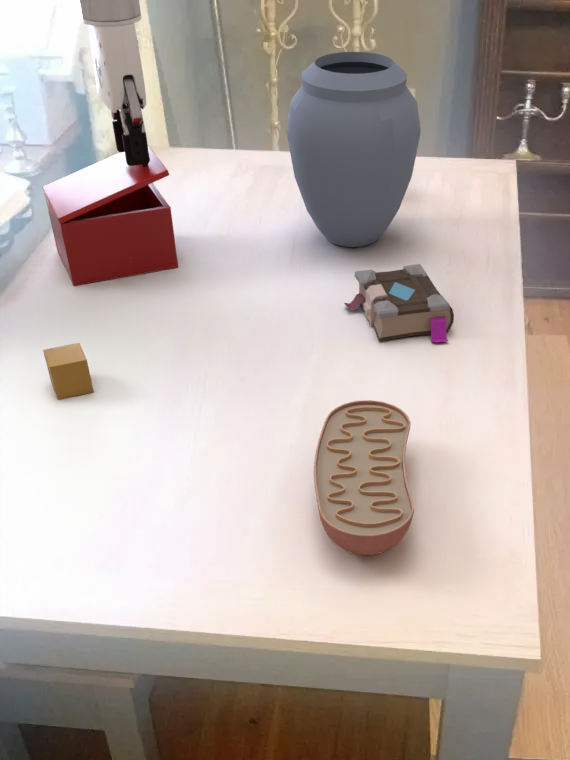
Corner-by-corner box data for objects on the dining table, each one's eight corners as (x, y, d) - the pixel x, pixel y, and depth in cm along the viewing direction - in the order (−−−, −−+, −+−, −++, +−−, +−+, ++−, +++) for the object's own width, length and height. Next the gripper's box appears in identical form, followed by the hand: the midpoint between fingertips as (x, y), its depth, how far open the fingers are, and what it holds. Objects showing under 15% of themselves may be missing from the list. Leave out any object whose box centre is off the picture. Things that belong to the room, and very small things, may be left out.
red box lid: (147, 146, 133) (132, 109, 129) (169, 175, 124) (154, 136, 120) (44, 191, 131) (26, 156, 127) (60, 224, 123) (42, 187, 119)
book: (331, 286, 129) (331, 251, 126) (412, 276, 131) (414, 242, 128) (369, 354, 116) (370, 318, 112) (458, 342, 118) (462, 306, 114)
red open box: (156, 235, 142) (148, 177, 136) (178, 267, 134) (170, 207, 127) (57, 251, 137) (44, 192, 131) (73, 286, 129) (60, 224, 123)
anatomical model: (412, 576, 86) (415, 536, 82) (308, 573, 86) (307, 534, 83) (407, 438, 102) (409, 400, 99) (320, 436, 102) (319, 398, 99)
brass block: (57, 399, 108) (49, 367, 105) (51, 381, 111) (42, 349, 108) (94, 392, 109) (86, 359, 106) (86, 374, 112) (79, 342, 109)
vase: (318, 206, 150) (315, 38, 133) (429, 223, 145) (442, 51, 128) (270, 252, 137) (260, 73, 120) (390, 273, 132) (398, 89, 115)
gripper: (67, -5, 119) (94, 142, 132) (94, 24, 108) (121, 182, 120) (123, -10, 121) (144, 135, 134) (155, 18, 110) (175, 173, 122)
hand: (133, 155), depth 127 cm, fingers closed on red box lid, 5 cm apart
